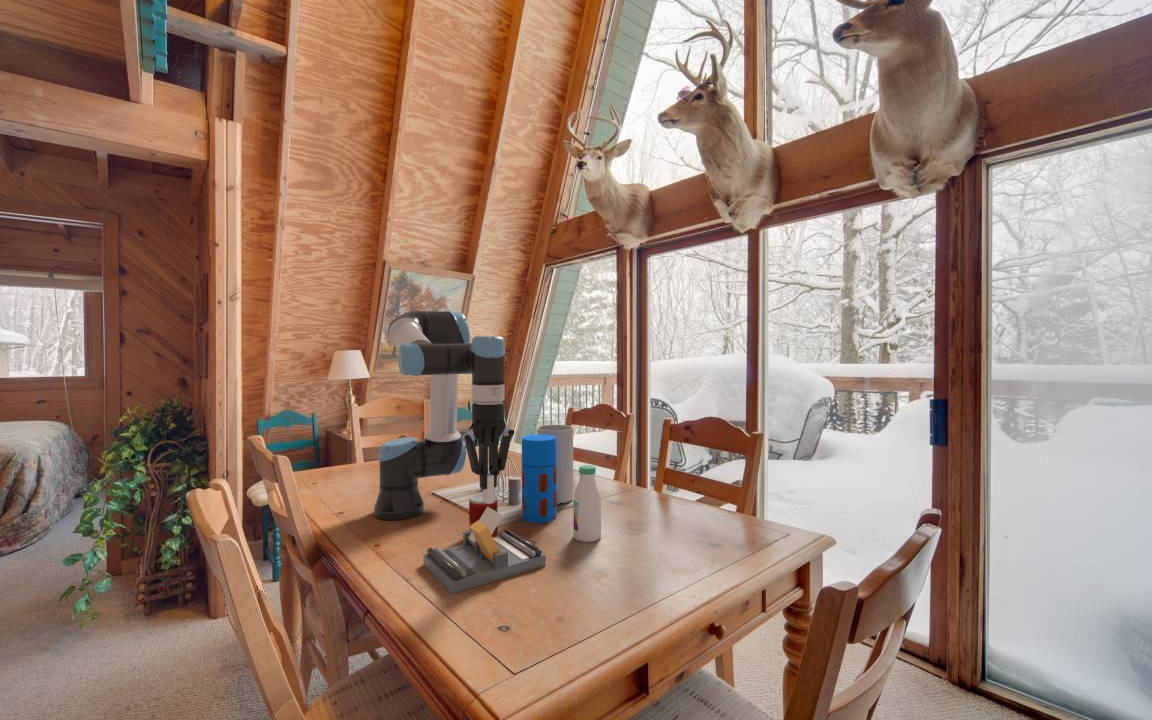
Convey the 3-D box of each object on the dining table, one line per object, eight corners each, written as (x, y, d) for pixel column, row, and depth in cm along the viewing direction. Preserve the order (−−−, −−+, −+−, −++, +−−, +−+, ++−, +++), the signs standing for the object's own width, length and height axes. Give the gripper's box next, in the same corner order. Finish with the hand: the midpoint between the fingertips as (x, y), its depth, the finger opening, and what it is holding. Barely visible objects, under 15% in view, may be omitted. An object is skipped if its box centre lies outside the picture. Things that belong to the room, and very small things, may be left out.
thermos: (561, 513, 162) (561, 435, 161) (549, 524, 152) (548, 441, 151) (530, 509, 166) (530, 433, 165) (516, 520, 155) (515, 439, 155)
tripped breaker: (486, 558, 122) (469, 526, 119) (494, 552, 123) (477, 520, 120) (495, 566, 118) (478, 533, 115) (504, 559, 119) (487, 526, 116)
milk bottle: (605, 535, 144) (605, 465, 143) (594, 544, 137) (594, 471, 136) (580, 530, 147) (580, 462, 147) (568, 540, 140) (568, 468, 140)
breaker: (466, 540, 130) (487, 506, 133) (473, 544, 131) (494, 510, 134) (474, 547, 126) (496, 511, 129) (481, 551, 127) (503, 515, 130)
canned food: (492, 542, 139) (491, 502, 138) (464, 540, 140) (464, 500, 140) (501, 532, 146) (501, 494, 146) (475, 530, 148) (475, 492, 147)
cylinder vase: (541, 493, 184) (541, 424, 183) (575, 494, 182) (575, 425, 181) (533, 504, 171) (533, 430, 170) (570, 505, 170) (570, 431, 169)
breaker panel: (423, 564, 125) (423, 541, 125) (509, 541, 139) (509, 521, 139) (452, 594, 110) (452, 568, 110) (545, 565, 124) (545, 542, 124)
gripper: (469, 406, 112) (469, 511, 113) (520, 402, 119) (520, 500, 120) (455, 402, 118) (455, 502, 119) (505, 398, 125) (505, 492, 127)
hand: (488, 501), depth 120 cm, fingers closed
